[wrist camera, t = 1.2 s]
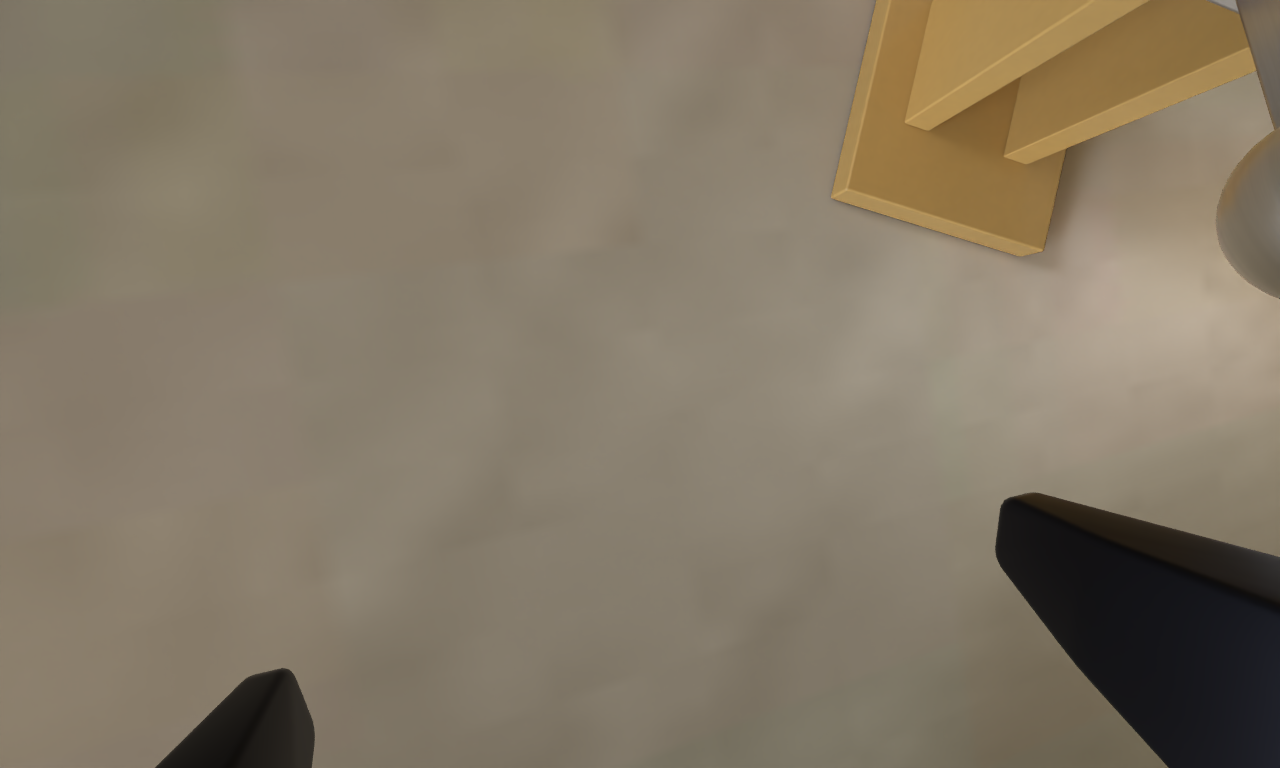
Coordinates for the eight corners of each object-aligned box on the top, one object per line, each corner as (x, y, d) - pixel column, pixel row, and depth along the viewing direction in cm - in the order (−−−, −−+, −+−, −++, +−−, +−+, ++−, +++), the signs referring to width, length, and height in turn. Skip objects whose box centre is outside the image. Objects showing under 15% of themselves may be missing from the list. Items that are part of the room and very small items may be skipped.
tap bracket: (1020, 257, 25) (1455, 158, 13) (829, 198, 23) (1130, 30, 12) (1076, 5, 25) (1554, -310, 13) (891, -69, 24) (1246, -491, 12)
